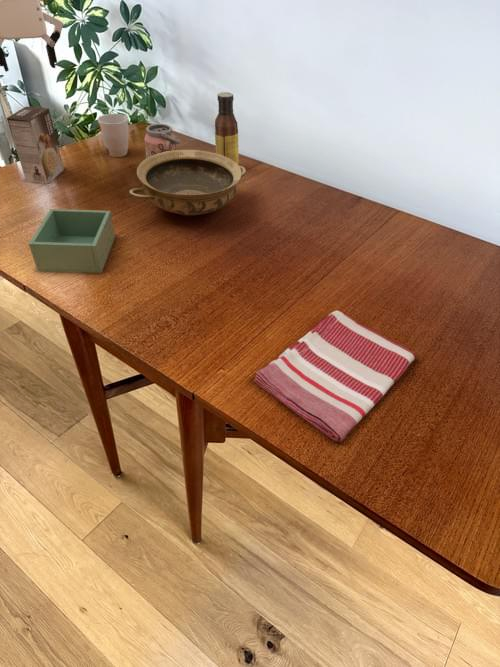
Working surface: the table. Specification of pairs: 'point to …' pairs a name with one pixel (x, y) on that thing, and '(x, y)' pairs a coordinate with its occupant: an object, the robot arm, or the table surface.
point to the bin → (73, 241)
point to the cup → (114, 133)
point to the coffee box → (36, 144)
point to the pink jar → (159, 139)
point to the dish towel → (335, 373)
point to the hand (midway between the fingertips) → (30, 68)
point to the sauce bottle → (226, 128)
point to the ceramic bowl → (188, 181)
